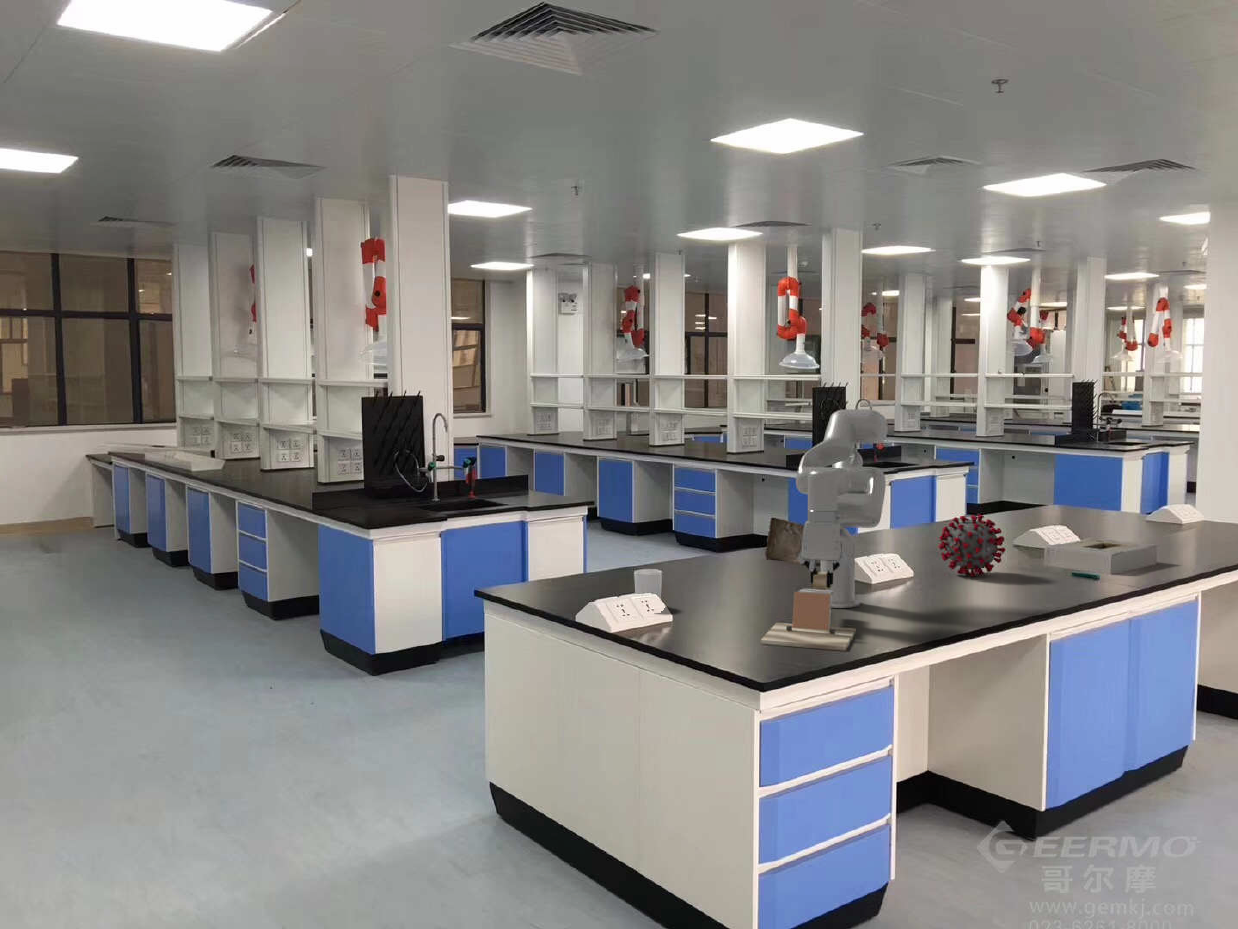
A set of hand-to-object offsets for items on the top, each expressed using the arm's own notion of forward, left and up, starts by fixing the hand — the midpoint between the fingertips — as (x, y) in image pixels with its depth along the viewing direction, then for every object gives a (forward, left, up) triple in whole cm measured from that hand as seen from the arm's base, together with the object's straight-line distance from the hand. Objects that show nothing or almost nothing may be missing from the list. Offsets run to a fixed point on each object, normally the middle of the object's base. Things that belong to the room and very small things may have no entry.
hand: (821, 585), depth 253 cm
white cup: (-2, -49, -10) cm, 50 cm away
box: (-112, +77, -10) cm, 137 cm away
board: (+19, 0, -9) cm, 21 cm away
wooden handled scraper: (+2, 0, -1) cm, 3 cm away
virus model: (-78, +36, -10) cm, 86 cm away
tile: (+15, 0, -4) cm, 15 cm away
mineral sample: (-86, -26, -10) cm, 90 cm away
